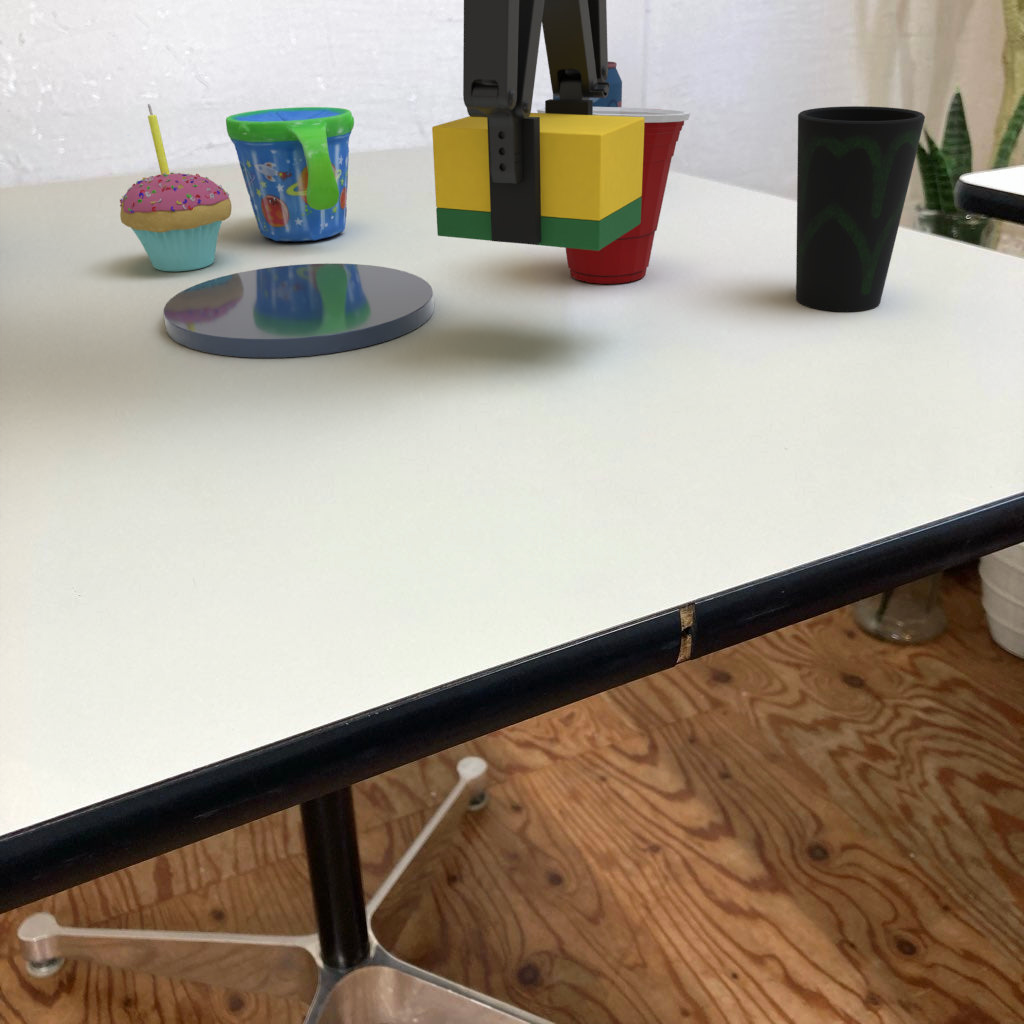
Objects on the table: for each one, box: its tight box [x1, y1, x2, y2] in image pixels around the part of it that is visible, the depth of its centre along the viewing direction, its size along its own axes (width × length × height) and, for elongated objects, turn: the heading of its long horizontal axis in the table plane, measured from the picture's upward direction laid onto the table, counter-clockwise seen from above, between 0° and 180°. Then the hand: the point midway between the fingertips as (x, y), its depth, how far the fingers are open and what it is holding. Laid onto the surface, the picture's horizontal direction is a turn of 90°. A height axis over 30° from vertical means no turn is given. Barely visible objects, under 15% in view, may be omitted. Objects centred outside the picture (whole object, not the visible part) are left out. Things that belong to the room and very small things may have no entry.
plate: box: [162, 263, 435, 359], centre depth 71 cm, size 18×18×1 cm
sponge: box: [431, 112, 645, 251], centre depth 60 cm, size 10×7×6 cm
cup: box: [795, 105, 926, 313], centre depth 68 cm, size 8×8×12 cm
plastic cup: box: [536, 106, 691, 285], centre depth 76 cm, size 11×11×12 cm
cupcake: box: [119, 103, 232, 272], centre depth 81 cm, size 9×8×12 cm
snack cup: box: [225, 106, 355, 242], centre depth 90 cm, size 16×10×10 cm
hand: (544, 226), depth 61 cm, fingers closed on sponge, 7 cm apart
